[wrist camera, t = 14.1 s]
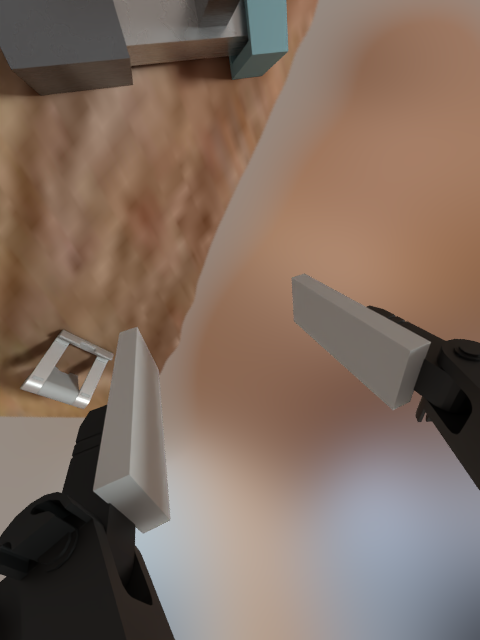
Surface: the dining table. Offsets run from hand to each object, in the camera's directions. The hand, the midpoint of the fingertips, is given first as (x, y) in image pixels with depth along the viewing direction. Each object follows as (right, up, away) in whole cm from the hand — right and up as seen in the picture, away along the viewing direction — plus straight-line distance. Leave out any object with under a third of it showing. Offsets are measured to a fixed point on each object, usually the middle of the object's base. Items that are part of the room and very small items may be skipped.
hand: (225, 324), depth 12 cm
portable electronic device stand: (-28, -6, +29) cm, 41 cm away
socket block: (+1, +36, +17) cm, 40 cm away
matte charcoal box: (-17, +29, +13) cm, 37 cm away
